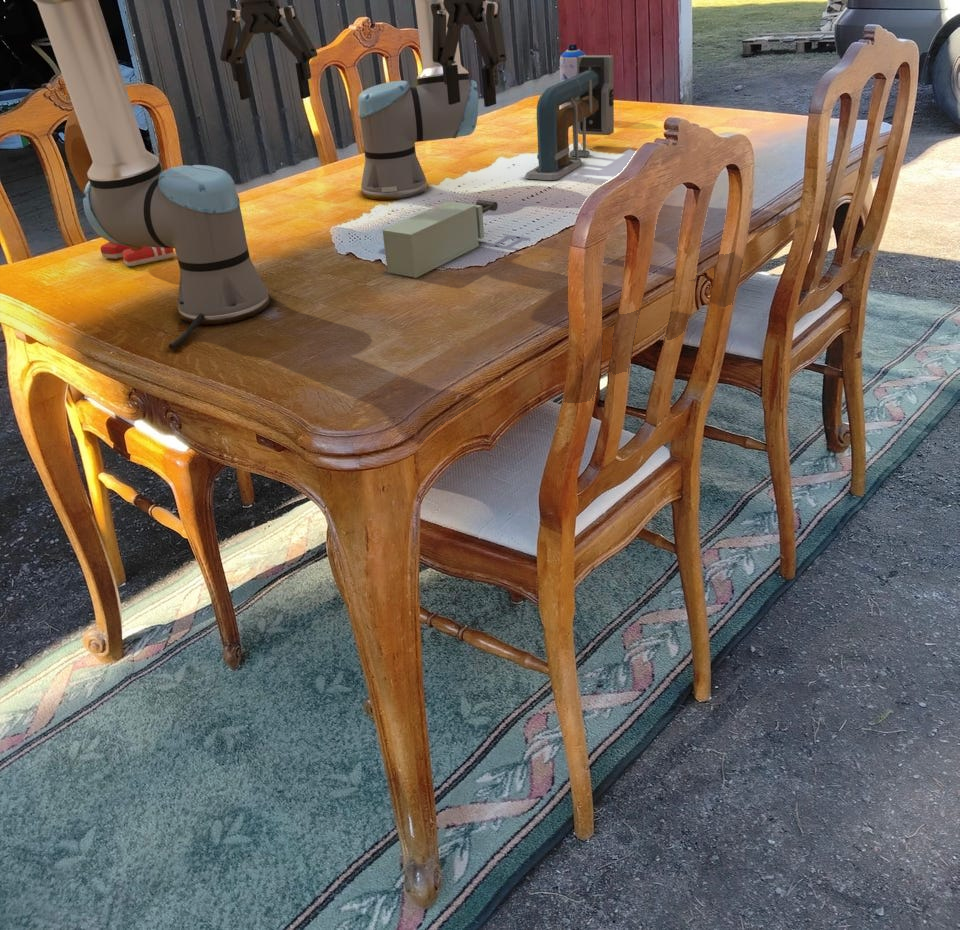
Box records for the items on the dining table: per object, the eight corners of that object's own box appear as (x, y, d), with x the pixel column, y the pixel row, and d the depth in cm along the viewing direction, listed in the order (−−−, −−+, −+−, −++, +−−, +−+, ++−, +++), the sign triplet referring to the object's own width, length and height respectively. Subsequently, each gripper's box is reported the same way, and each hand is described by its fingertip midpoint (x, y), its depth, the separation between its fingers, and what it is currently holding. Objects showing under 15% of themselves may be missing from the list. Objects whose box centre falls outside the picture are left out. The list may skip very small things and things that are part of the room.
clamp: (556, 180, 222) (553, 82, 211) (522, 178, 225) (517, 81, 215) (613, 144, 247) (613, 55, 237) (582, 143, 251) (580, 55, 240)
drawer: (479, 225, 194) (477, 194, 191) (502, 228, 191) (500, 197, 188) (402, 262, 178) (398, 229, 175) (426, 266, 175) (422, 232, 172)
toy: (187, 258, 192) (149, 99, 177) (141, 273, 186) (98, 110, 171) (132, 241, 205) (93, 92, 190) (88, 254, 199) (43, 101, 184)
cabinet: (451, 241, 189) (447, 201, 185) (479, 246, 185) (475, 205, 181) (387, 272, 176) (382, 229, 172) (416, 278, 172) (411, 234, 168)
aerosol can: (559, 122, 275) (557, 47, 265) (562, 117, 282) (559, 42, 272) (587, 121, 274) (585, 45, 263) (589, 115, 280) (587, 41, 270)
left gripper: (323, -26, 181) (339, 93, 192) (209, -19, 189) (231, 95, 200) (305, -23, 175) (323, 100, 186) (187, -16, 183) (211, 102, 193)
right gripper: (523, -39, 164) (529, 102, 175) (429, -35, 175) (441, 97, 186) (497, -34, 159) (506, 111, 170) (402, -31, 170) (416, 105, 181)
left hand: (275, 98), depth 193 cm, fingers open, 13 cm apart
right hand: (472, 104), depth 178 cm, fingers open, 8 cm apart
